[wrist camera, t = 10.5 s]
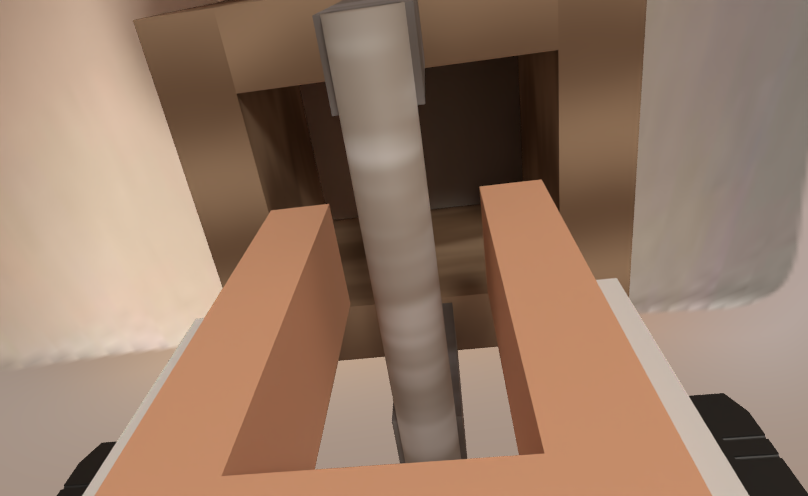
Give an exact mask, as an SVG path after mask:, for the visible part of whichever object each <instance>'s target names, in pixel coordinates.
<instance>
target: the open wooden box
mask: <svg viewBox="0 0 808 496" xmlns="http://www.w3.org/2000/svg"><path fill="white" fill-rule="evenodd" d="M646 5H647V0H229V1H223V2H218V3H213V4H208V5H204V6H199V7H194V8H189V9H184V10H180V11H175V12H170V13H165V14H160V15H156V16H151V17H146V18H141V19H136V20H133V22H134V25H135V28H136V31H137V34H138V37H139V40H140V43H141V46H142V49H143V52H144V55H145V58H146V61H147V64H148V67H149V70H150V72H151V75H152V78H153V81H154V84H155V87H156V90H157V93H158V96H159V99H160V102H161V105H162V108H163V111H164V114H165V117H166V120H167V123H168V126H169V129H170V132H171V135H172V138H173V141H174V144H175V147H176V150H177V153H178V156H179V159H180V162H181V165H182V168H183V171H184V174H185V177H186V180H187V183H188V186H189V189H190V192H191V195H192V198H193V201H194V203H195V206H196V209H197V212H198V215H199V218H200V221H201V224H202V227H203V230H204V233H205V236H206V239H207V242H208V245H209V248H210V251H211V254H212V257H213V260H214V263H215V266H216V269H217V272H218V275H219V278H220V281H221V284H222V287H224V286H225V284H226V282H227V281H228V279H229V278H230V276H231V274H232V273H233V271H234V269H235V268H236V266H237V265H238V263H239V261H240V260H241V258H242V257H243V255H244V253H245V252H246V250H247V248H248V247H249V245H250V244H251V242H252V240H253V239H254V237H255V236H256V234H257V232H258V231H259V229H260V228H261V226H262V224H263V223H264V221H265V219H266V218H267V216H268V215H269V213H270V211H271V210H279V209H288V208H297V207H305V206H314V205H323V204H325V202H324V198H323V193H322V189H321V184H320V179H319V175H318V170H317V166H316V161H315V157H314V152H313V147H312V143H311V138H310V134H309V129H308V124H307V120H306V115H305V111H304V106H303V102H302V97H301V92H300V88H299V85H304V84H311V83H318V82H325V83H326V88H327V93H328V98H329V103H330V109H331V114H332V116H337V115H339V117H340V123H341V128H342V133H343V138H344V144H345V149H346V154H347V159H348V165H349V170H350V175H351V180H352V186H353V191H354V196H355V201H356V207H357V212H358V217H359V218H352V219H343V220H334V221H333V224H334V229H335V234H336V238H337V243H338V248H339V252H340V257H341V262H342V267H343V271H344V276H345V281H346V285H347V290H348V295H349V299H350V309H349V313H348V318H347V322H346V327H345V332H344V336H343V341H342V346H341V350H340V355H339V359H338V361H340V360H352V359H363V358H374V357H385V358H386V364H387V369H388V374H389V379H390V385H391V390H392V395H393V415H392V424H393V429H394V434H395V439H396V444H397V449H398V454H399V460H400V464H402V463H416V462H431V461H445V460H459V459H467V451H466V440H465V429H464V418H463V406H462V395H461V384H460V374H459V362H458V350H463V349H475V348H485V347H496V346H498V343H497V338H496V332H495V327H494V322H493V317H492V312H491V306H490V301H489V296H488V291H487V278H486V265H485V253H484V240H483V227H482V214H481V204H476V205H467V206H458V207H449V208H441V209H432V210H430V203H429V195H428V187H427V179H426V170H425V162H424V154H423V146H422V138H421V130H420V122H419V114H418V106H417V105H422V104H425V68H429V67H436V66H444V65H451V64H458V63H466V62H473V61H481V60H488V59H495V58H503V57H510V56H517V55H518V71H519V96H520V121H521V147H522V172H523V181H532V180H541V179H542V181H543V183H544V185H545V187H546V189H547V190H548V192H549V194H550V196H551V198H552V200H553V202H554V203H555V205H556V207H557V209H558V211H559V213H560V215H561V216H562V218H563V220H564V222H565V224H566V226H567V227H568V229H569V231H570V233H571V235H572V237H573V239H574V240H575V242H576V244H577V246H578V248H579V250H580V252H581V253H582V255H583V257H584V259H585V261H586V263H587V265H588V266H589V268H590V270H591V272H592V274H593V276H594V277H595V279H596V280H601V279H611V278H617V279H618V281H619V283H620V284H621V286H622V287H623V289H624V291H625V292H626V294H627V296H628V297H629V286H630V270H631V253H632V237H633V220H634V204H635V187H636V170H637V154H638V137H639V121H640V104H641V88H642V71H643V54H644V38H645V21H646Z"/></svg>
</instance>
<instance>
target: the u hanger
mask: <svg viewBox="0 0 808 496" xmlns="http://www.w3.org/2000/svg"><path fill="white" fill-rule="evenodd" d="M479 189H480V202H481V214H482V227H483V240H484V253H485V265H486V278H487V291H488V296H489V301H490V306H491V312H492V317H493V322H494V327H495V332H496V338H497V343H498V348H499V353H500V358H501V363H502V368H503V374H504V379H505V384H506V389H507V395H508V400H509V405H510V411H511V415H512V420H513V426H514V431H515V436H516V442H517V446H518V452H519V455H516V456H502V457H488V458H476V459H475V458H474V459H459V460H445V461H431V462H416V463H402V464H390V465H389V464H388V465H373V466H359V467H345V468H331V469H316V470H315V465H316V461H317V456H318V452H319V447H320V442H321V438H322V433H323V428H324V424H325V419H326V415H327V410H328V405H329V401H330V396H331V392H332V387H333V382H334V377H335V373H336V369H337V364H338V359H339V355H340V350H341V346H342V341H343V336H344V332H345V327H346V322H347V318H348V313H349V309H350V299H349V295H348V290H347V285H346V281H345V276H344V271H343V267H342V262H341V257H340V252H339V248H338V243H337V238H336V234H335V229H334V224H333V220H332V215H331V210H330V206H329V204H323V205H314V206H305V207H297V208H288V209H279V210H271V211H270V213H269V215H268V216H267V218H266V219H265V221H264V223H263V224H262V226H261V228H260V229H259V231H258V232H257V234H256V236H255V237H254V239H253V240H252V242H251V244H250V245H249V247H248V248H247V250H246V252H245V253H244V255H243V257H242V258H241V260H240V261H239V263H238V265H237V266H236V268H235V269H234V271H233V273H232V274H231V276H230V278H229V279H228V281H227V282H226V284H225V286H224V287H223V289H222V290H221V292H220V294H219V295H218V297H217V299H216V300H215V302H214V303H213V305H212V307H211V308H210V310H209V311H208V313H207V315H206V316H205V318H204V320H203V321H202V323H201V324H200V326H199V328H198V329H197V331H196V332H195V334H194V336H193V337H192V339H191V341H190V342H189V344H188V345H187V347H186V349H185V350H184V352H183V353H182V355H181V357H180V358H179V360H178V362H177V363H176V365H175V366H174V368H173V370H172V371H171V373H170V374H169V376H168V378H167V379H166V381H165V383H164V384H163V386H162V387H161V389H160V391H159V392H158V394H157V395H156V397H155V399H154V400H153V402H152V404H151V405H150V407H149V408H148V410H147V412H146V413H145V415H144V416H143V418H142V420H141V421H140V423H139V425H138V426H137V428H136V429H135V431H134V433H133V434H132V436H131V437H130V439H129V441H128V442H127V444H126V446H125V447H124V449H123V450H122V452H121V454H120V455H119V457H118V458H117V460H116V462H115V463H114V465H113V467H112V468H111V470H110V471H109V473H108V475H107V476H106V478H105V479H104V481H103V483H102V484H101V486H100V488H99V489H98V491H97V492H96V494H95V496H712V494H711V492H710V491H709V489H708V487H707V485H706V483H705V481H704V479H703V478H702V476H701V474H700V472H699V470H698V468H697V466H696V465H695V463H694V461H693V459H692V457H691V455H690V453H689V452H688V450H687V448H686V446H685V444H684V442H683V441H682V439H681V437H680V435H679V433H678V431H677V429H676V428H675V426H674V424H673V422H672V420H671V418H670V416H669V415H668V413H667V411H666V409H665V407H664V405H663V403H662V402H661V400H660V398H659V396H658V394H657V392H656V390H655V389H654V387H653V385H652V383H651V381H650V379H649V378H648V376H647V374H646V372H645V370H644V368H643V366H642V365H641V363H640V361H639V359H638V357H637V355H636V353H635V352H634V350H633V348H632V346H631V344H630V342H629V340H628V339H627V337H626V335H625V333H624V331H623V329H622V328H621V326H620V324H619V322H618V320H617V318H616V316H615V315H614V313H613V311H612V309H611V307H610V305H609V303H608V302H607V300H606V298H605V296H604V294H603V292H602V290H601V289H600V287H599V285H598V283H597V281H596V279H595V277H594V276H593V274H592V272H591V270H590V268H589V266H588V265H587V263H586V261H585V259H584V257H583V255H582V253H581V252H580V250H579V248H578V246H577V244H576V242H575V240H574V239H573V237H572V235H571V233H570V231H569V229H568V227H567V226H566V224H565V222H564V220H563V218H562V216H561V215H560V213H559V211H558V209H557V207H556V205H555V203H554V202H553V200H552V198H551V196H550V194H549V192H548V190H547V189H546V187H545V185H544V183H543V181H542V179H541V180H532V181H523V182H515V183H506V184H497V185H488V186H480V187H479Z"/></svg>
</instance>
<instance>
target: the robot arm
mask: <svg viewBox="0 0 808 496" xmlns="http://www.w3.org/2000/svg"><path fill="white" fill-rule="evenodd" d="M596 281H597V283H598V285H599V287H600V289H601V290H602V292H603V294H604V296H605V298H606V300H607V302H608V303H609V305H610V307H611V309H612V311H613V313H614V315H615V316H616V318H617V320H618V322H619V324H620V326H621V328H622V329H623V331H624V333H625V335H626V337H627V339H628V340H629V342H630V344H631V346H632V348H633V350H634V352H635V353H636V355H637V357H638V359H639V361H640V363H641V365H642V366H643V368H644V370H645V372H646V374H647V376H648V378H649V379H650V381H651V383H652V385H653V387H654V389H655V390H656V392H657V394H658V396H659V398H660V400H661V402H662V403H663V405H664V407H665V409H666V411H667V413H668V415H669V416H670V418H671V420H672V422H673V424H674V426H675V428H676V429H677V431H678V433H679V435H680V437H681V439H682V441H683V442H684V444H685V446H686V448H687V450H688V452H689V453H690V455H691V457H692V459H693V461H694V463H695V465H696V466H697V468H698V470H699V472H700V474H701V476H702V478H703V479H704V481H705V483H706V485H707V487H708V489H709V491H710V492H711V494H712V496H808V493H807V492H806V491H805V489H804V488H803V486H802V485H801V484H800V483H799V481H798V480H797V478H796V477H795V475H794V474H793V473H792V471H791V470H790V468H789V467H788V466H787V464H786V463H785V461H784V460H783V459H782V458H780V457H779V455H778V452H777V450H776V449H775V448H774V446H773V445H772V443H771V442H770V441H769V439H766V438H765V434H764V432H763V431H762V430H761V428H760V427H759V425H758V424H757V423H756V421H755V420H754V418H753V417H752V416H751V415H750V413H749V412H748V411H747V410H746V409H744V408H743V407H742V406H740V405H739V404H737V403H736V402H735V401H733V400H732V399H731V398H729V397H728V396H727V395H725V394H724V393H720V394H707V395H694V396H688V394H687V393H686V391H685V389H684V388H683V386H682V384H681V383H680V381H679V379H678V378H677V376H676V375H675V373H674V371H673V370H672V368H671V367H670V365H669V363H668V361H667V360H666V358H665V356H664V355H663V353H662V352H661V350H660V348H659V347H658V345H657V343H656V342H655V340H654V338H653V337H652V335H651V334H650V332H649V330H648V329H647V327H646V325H645V324H644V322H643V320H642V319H641V317H640V315H639V314H638V312H637V310H636V309H635V307H634V306H633V304H632V302H631V301H630V299H629V297H628V296H627V294H626V292H625V291H624V289H623V287H622V286H621V284H620V283H619V281H618V279H617V278H611V279H601V280H596ZM203 320H204V318H200V319H195V321H194V322H193V324H192V325H191V327H190V329H189V330H188V332H187V333H186V335H185V336H184V338H183V339H182V341H181V343H180V344H179V346H178V347H177V349H176V350H175V352H174V353H173V355H172V357H171V358H170V360H169V361H168V363H167V365H166V366H165V368H164V369H163V371H162V372H161V374H160V375H159V377H158V379H157V380H156V382H155V383H154V385H153V386H152V388H151V389H150V391H149V393H148V394H147V396H146V397H145V399H144V400H143V402H142V403H141V405H140V406H139V408H138V410H137V411H136V413H135V414H134V416H133V417H132V419H131V420H130V422H129V424H128V425H127V427H126V428H125V430H124V432H123V433H122V434H121V436H120V438H119V439H118V441H117V442H106V443H101V444H100V445H99V446H98V447H97V448H95V449H94V450H93V451H92V452H91V453H90V454H89V455H88V456H87V457H85V458H84V459H83V460H82V461H81V462H80V463H79V464H78V466H77V467H76V469H75V470H74V471H73V473H72V474H71V476H70V477H69V479H68V480H67V482H66V483H65V484H64V489H63V490H60V492H59V493H58V495H57V496H95V494H96V492H97V491H98V489H99V488H100V486H101V484H102V483H103V481H104V479H105V478H106V476H107V475H108V473H109V471H110V470H111V468H112V467H113V465H114V463H115V462H116V460H117V458H118V457H119V455H120V454H121V452H122V450H123V449H124V447H125V446H126V444H127V442H128V441H129V439H130V437H131V436H132V434H133V433H134V431H135V429H136V428H137V426H138V425H139V423H140V421H141V420H142V418H143V416H144V415H145V413H146V412H147V410H148V408H149V407H150V405H151V404H152V402H153V400H154V399H155V397H156V395H157V394H158V392H159V391H160V389H161V387H162V386H163V384H164V383H165V381H166V379H167V378H168V376H169V374H170V373H171V371H172V370H173V368H174V366H175V365H176V363H177V362H178V360H179V358H180V357H181V355H182V353H183V352H184V350H185V349H186V347H187V345H188V344H189V342H190V341H191V339H192V337H193V336H194V334H195V332H196V331H197V329H198V328H199V326H200V324H201V323H202V321H203Z"/></svg>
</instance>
